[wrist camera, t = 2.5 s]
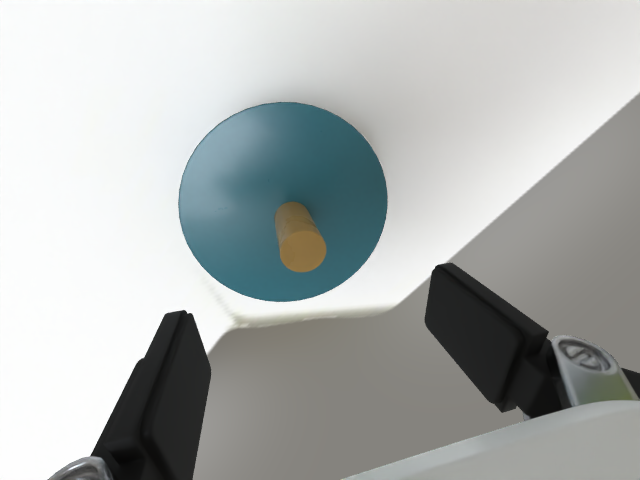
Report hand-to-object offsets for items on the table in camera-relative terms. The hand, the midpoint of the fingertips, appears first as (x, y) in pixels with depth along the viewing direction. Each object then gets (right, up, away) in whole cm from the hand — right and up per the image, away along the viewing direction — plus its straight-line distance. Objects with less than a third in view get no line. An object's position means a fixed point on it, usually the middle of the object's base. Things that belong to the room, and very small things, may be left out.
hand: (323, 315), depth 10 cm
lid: (-2, +5, +9) cm, 11 cm away
